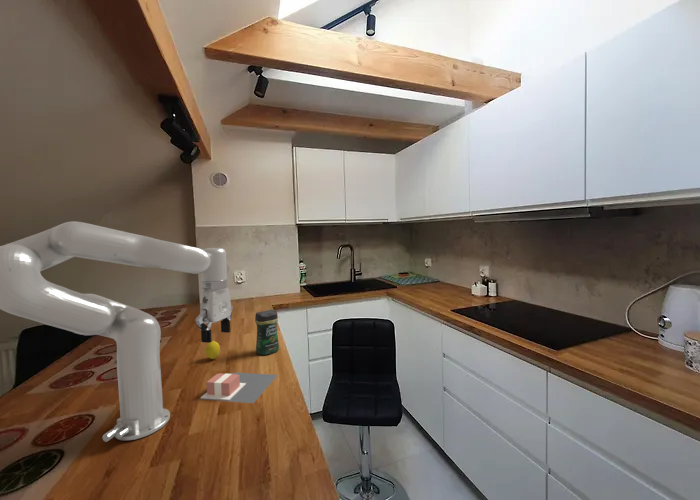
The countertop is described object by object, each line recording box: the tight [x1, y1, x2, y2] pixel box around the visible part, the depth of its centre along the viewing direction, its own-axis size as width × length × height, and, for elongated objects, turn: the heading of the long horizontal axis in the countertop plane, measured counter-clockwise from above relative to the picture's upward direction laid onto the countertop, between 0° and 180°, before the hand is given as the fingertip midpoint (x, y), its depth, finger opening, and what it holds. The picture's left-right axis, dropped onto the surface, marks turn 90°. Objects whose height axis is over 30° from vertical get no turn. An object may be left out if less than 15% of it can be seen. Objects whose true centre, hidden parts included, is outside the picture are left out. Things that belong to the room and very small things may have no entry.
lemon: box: [205, 340, 221, 360], centre depth 123 cm, size 6×6×8 cm
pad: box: [200, 383, 246, 401], centre depth 96 cm, size 10×10×1 cm
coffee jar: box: [254, 309, 280, 356], centre depth 129 cm, size 10×8×19 cm
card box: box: [206, 373, 240, 396], centre depth 96 cm, size 8×6×4 cm
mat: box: [201, 371, 278, 404], centre depth 99 cm, size 18×18×1 cm
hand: (216, 336), depth 95 cm, fingers open, 9 cm apart
